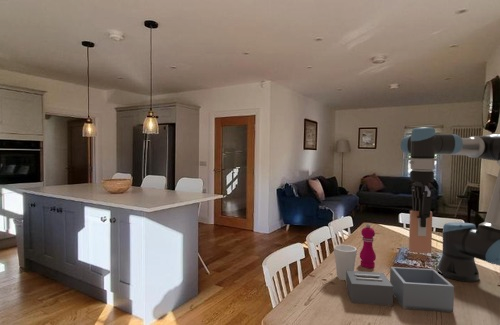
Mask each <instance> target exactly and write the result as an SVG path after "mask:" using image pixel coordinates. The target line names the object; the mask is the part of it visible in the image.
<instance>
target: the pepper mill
mask: <svg viewBox="0 0 500 325" xmlns="http://www.w3.org/2000/svg"><path fill="white" fill-rule="evenodd" d="M360 233H361V235H362V241H363V246H362V248H361V250H360V253H359V258H360V265H361V267H363V268H366V269H372V268H375V261H376V258H377V256H376V252H375V250H374V248H373V242H374V239H375V238H374V237H375V235H376V231H375V229H374V228H372V227H371V225H370V224H366V225H365V227H363V228H362V229H361V232H360Z"/></svg>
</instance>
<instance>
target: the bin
mask: <svg viewBox="0 0 500 325" xmlns="http://www.w3.org/2000/svg"><path fill="white" fill-rule="evenodd" d="M389 267H390V268H389V270H390V271H389V281H390V283H391V284H392V286H393V297H394V298H395V299H396V301H397V302H398V304H399V305H400V306H401V308H402V309H404V310H415V311H429V312H430V311H431V312H439V313H440V312H444V313H454V305H455V303H454V302H455V301H454V300H455V286H454V285H453V284H452V283H451V282H449V280H448V279H446V277H445V276H443V275H441V274H439V273H438V270H436V269H434V268H421V267H420V268H417V267H416V268H415V267H403V266H402V267H398V266H389Z"/></svg>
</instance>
